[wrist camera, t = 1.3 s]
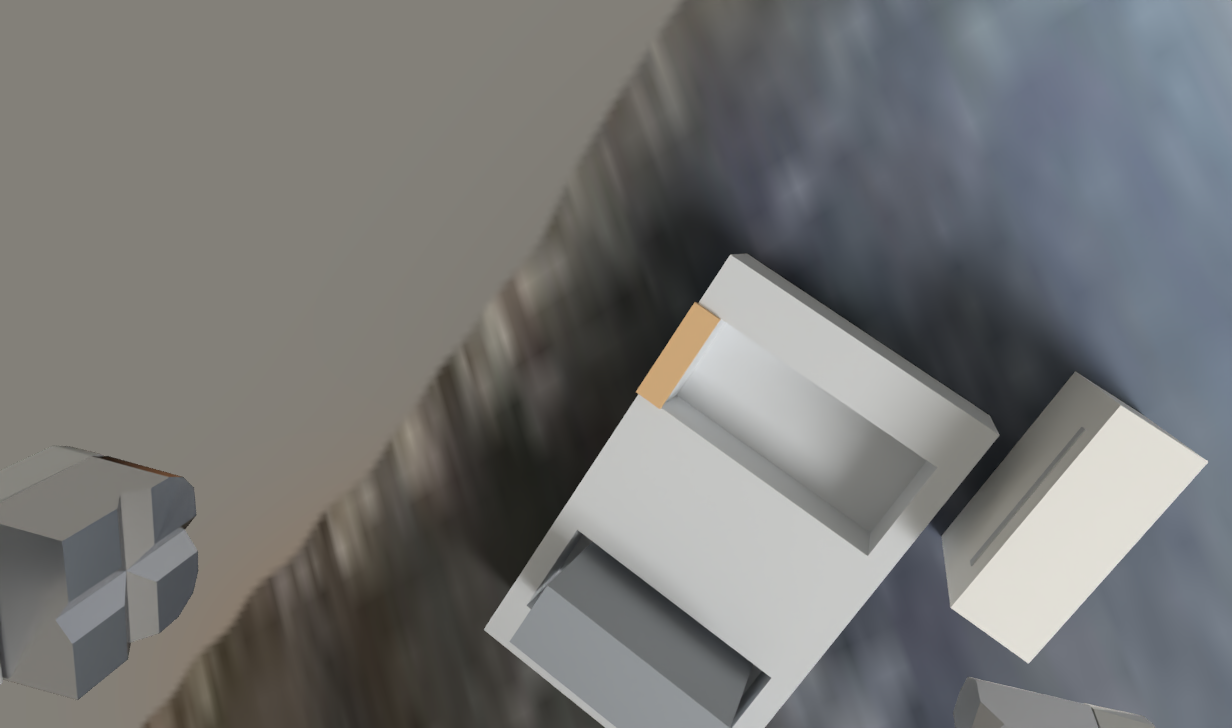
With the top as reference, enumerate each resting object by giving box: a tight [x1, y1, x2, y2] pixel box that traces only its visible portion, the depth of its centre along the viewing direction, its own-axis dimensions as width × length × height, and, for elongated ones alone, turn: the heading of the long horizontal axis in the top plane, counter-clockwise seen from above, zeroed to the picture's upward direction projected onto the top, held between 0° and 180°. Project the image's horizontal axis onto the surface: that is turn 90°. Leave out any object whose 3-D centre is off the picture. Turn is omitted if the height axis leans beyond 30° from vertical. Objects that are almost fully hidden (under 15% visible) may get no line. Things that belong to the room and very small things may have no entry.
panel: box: [941, 371, 1208, 663], centre depth 33 cm, size 9×3×8 cm, turn 147°
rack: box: [484, 254, 999, 728], centre depth 37 cm, size 12×20×8 cm, turn 147°
